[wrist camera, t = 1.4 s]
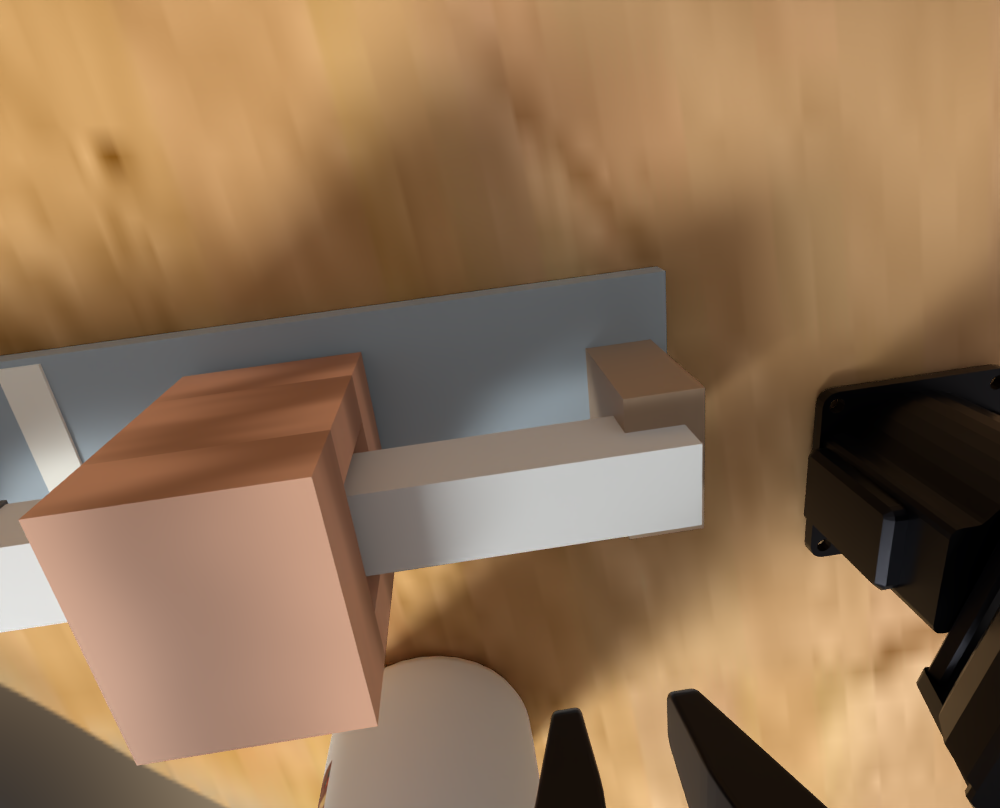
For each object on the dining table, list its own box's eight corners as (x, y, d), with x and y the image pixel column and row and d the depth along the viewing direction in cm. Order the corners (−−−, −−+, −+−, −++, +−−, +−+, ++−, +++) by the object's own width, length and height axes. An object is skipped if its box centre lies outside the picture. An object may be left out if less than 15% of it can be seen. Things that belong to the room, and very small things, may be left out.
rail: (656, 266, 19) (751, 315, 13) (661, 494, 22) (739, 615, 16) (-198, 382, 18) (-498, 490, 12) (-69, 605, 21) (-260, 774, 15)
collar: (360, 351, 18) (311, 476, 11) (398, 529, 20) (377, 726, 13) (182, 376, 17) (18, 520, 11) (241, 554, 20) (137, 765, 13)
